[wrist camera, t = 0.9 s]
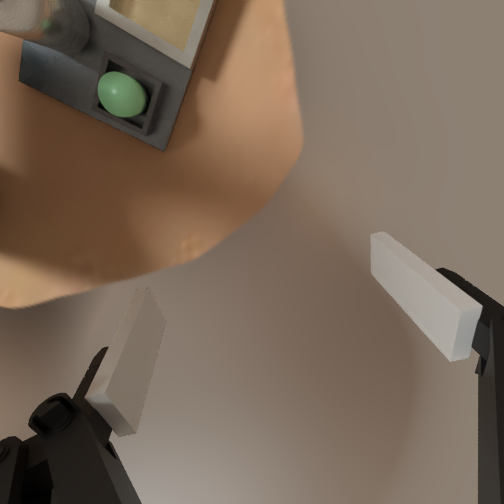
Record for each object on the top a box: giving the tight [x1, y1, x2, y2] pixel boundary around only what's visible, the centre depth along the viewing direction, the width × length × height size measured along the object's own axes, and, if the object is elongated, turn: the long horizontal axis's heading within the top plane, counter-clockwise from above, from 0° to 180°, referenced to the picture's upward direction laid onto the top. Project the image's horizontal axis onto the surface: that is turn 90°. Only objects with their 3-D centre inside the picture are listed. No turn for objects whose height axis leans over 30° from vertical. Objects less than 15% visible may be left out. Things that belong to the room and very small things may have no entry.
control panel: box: [19, 0, 218, 151], centre depth 25 cm, size 15×19×4 cm
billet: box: [0, 0, 89, 54], centre depth 21 cm, size 5×5×10 cm
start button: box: [98, 72, 148, 117], centre depth 26 cm, size 4×4×3 cm
